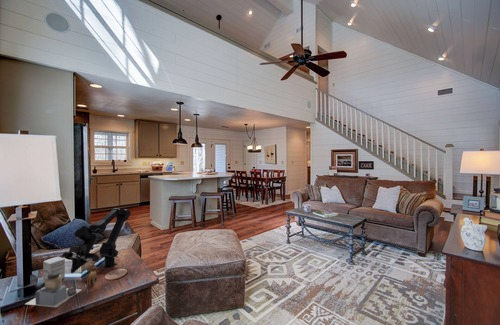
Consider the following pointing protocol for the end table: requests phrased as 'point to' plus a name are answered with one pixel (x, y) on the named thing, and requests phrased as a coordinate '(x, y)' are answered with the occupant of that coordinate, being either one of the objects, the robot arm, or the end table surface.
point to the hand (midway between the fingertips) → (71, 272)
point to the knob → (53, 281)
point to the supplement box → (54, 267)
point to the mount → (51, 297)
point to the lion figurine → (91, 274)
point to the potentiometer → (71, 291)
